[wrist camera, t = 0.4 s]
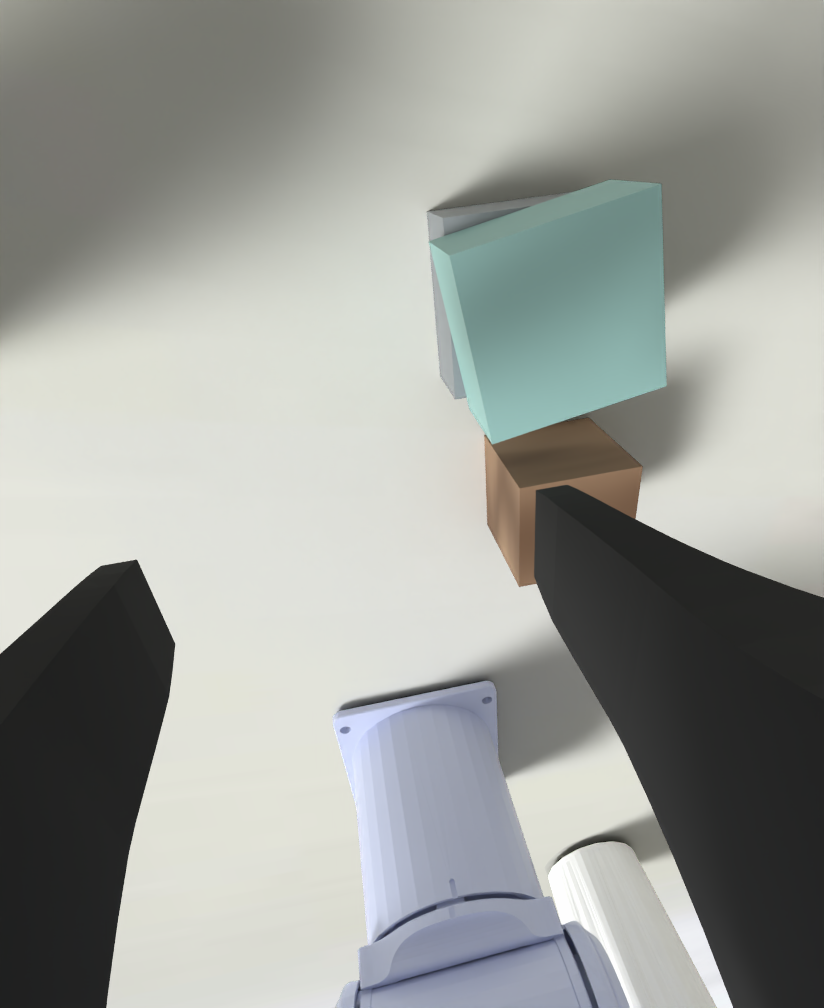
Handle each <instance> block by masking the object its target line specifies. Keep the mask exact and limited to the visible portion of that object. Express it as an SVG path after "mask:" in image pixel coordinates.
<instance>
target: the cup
mask: <svg viewBox="0 0 824 1008" xmlns="http://www.w3.org/2000/svg"><path fill="white" fill-rule="evenodd" d="M548 878H549V882H550V885H551V889H552V892H553V895H554V899H555V902H556V906H557V909H558V912H559V916H560V919H561V922H562V925H563V924H565V923H568V922H570V921H577V922H579V923H580V924H581V925H582V926H583V928H584V929H586V930H587V931H589V932H590V933H591V934H593V935H594V936H595V937H596V938H597V939H598V940H599V941H600V943H601V944H602V946H603V948H604V949H605V951H606V953H607V955H608V957H609V959H610V961H611V963H612V965H613V967H614V970H615V972H616V974H617V976H618V979H619V981H620V983H621V986H622V988H623V991H624V993H625V996H626V998H627V1001H628V1003H629V1006H630V1008H717V1007H716V1005H715V1003H714V1001H713V999H712V997H711V996H710V994H709V992H708V990H707V988H706V986H705V984H704V982H703V981H702V979H701V977H700V975H699V973H698V971H697V969H696V967H695V965H694V964H693V962H692V960H691V958H690V956H689V954H688V952H687V950H686V949H685V947H684V945H683V943H682V941H681V939H680V937H679V935H678V934H677V932H676V930H675V928H674V926H673V924H672V922H671V920H670V918H669V917H668V915H667V913H666V911H665V909H664V907H663V905H662V903H661V902H660V900H659V898H658V896H657V894H656V892H655V890H654V888H653V886H652V885H651V883H650V881H649V879H648V877H647V875H646V873H645V871H644V870H643V868H642V866H641V864H640V862H639V860H638V858H637V856H636V855H635V853H634V851H633V849H632V848H631V847H629V846H628V845H627V844H625V843H620V842H614V841H610V842H602V843H595V844H592V845H589V846H585V847H582V848H579V849H577V850H575V851H573V852H572V853H570V854H568V855H566V856H564V857H563V858H562V859H560V860H559V861H558V862H557V863H556V864H555V865H554V866H553V867H552V869H551V871H550V873H549V875H548Z"/></svg>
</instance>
